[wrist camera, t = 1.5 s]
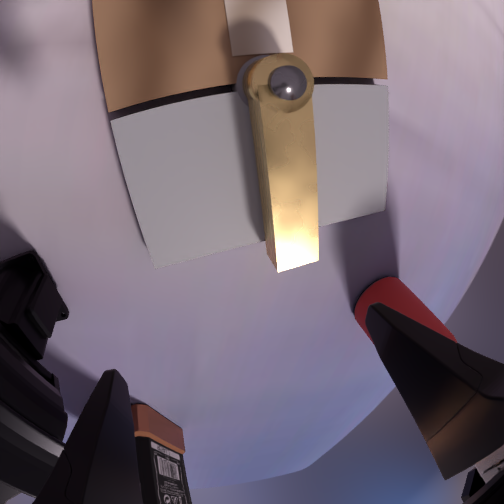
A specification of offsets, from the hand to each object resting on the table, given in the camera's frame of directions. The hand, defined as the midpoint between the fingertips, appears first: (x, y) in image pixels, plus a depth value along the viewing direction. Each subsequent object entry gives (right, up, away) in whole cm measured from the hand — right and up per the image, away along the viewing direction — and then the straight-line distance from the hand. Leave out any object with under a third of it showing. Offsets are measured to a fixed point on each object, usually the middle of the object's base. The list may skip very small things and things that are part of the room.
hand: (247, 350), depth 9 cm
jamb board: (+1, +10, +9) cm, 14 cm away
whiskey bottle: (-15, -20, +22) cm, 33 cm away
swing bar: (+2, +9, +8) cm, 12 cm away
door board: (0, +18, +4) cm, 18 cm away
